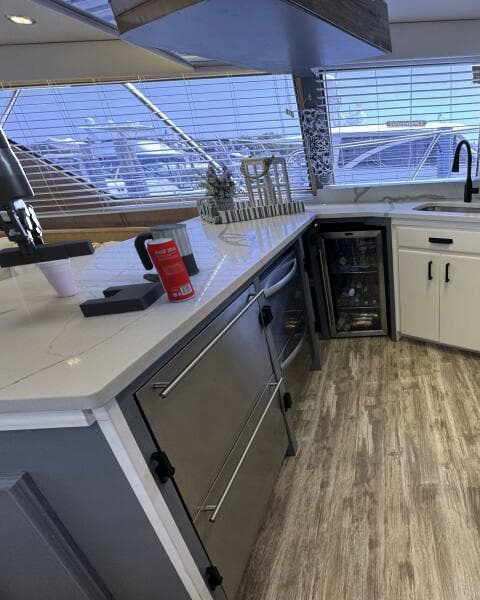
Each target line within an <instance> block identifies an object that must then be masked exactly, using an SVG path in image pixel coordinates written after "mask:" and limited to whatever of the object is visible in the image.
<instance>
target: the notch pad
mask: <svg viewBox="0 0 480 600" xmlns="http://www.w3.org/2000/svg"><path fill="white" fill-rule="evenodd" d="M101 293H102V295H103V297H101V298H91V299H86V300H85V301H83V302H82V303H79V305H78V307H79V309H80V311H81V313H82V315H83V317H84V318H89V317H90V318H91V317H97V316H98V317H99V316H105V315H106V316H107V315H115V314H123V313H132V312H139V311H145V310H147V309H148V308H149V307H150V306H151V305H152V304H154V303H155V302H156V301H157V300H158V299H160V298H161V297H162V295H164V294H166V292H165V290H164V287H163V285H162V283H161V282H151V281H150V282H143V283H134V284H133V283H132V284H124V285H113V286H108V287H107V288H105V289H103V290H102V292H101Z"/></svg>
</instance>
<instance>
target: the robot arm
mask: <svg viewBox="0 0 480 600" xmlns="http://www.w3.org/2000/svg"><path fill="white" fill-rule="evenodd" d="M34 197H35V193H34V190H33V188H32V186H31V184H30V182H29V179H28V177H27V176H26V173H25V171H24V170H23V167H22V165H21V163H20V161H19V159H18V157H17V156H16V155H15V153H14V151H13V149H12V147H11V145H10V144H9V141H8V139H7V136H6V134H5V133H4V130H3V128H2V127H1V126H0V227H1V229H2V230H3V232H4V234H5V236H6V237H7V240H8V241H9V242H10V243H14V244H16V245H17V247H19V249H20V251H21V253H22V255H23V257H24V259H25V260H26V261H34V260H39V259H40V258H41V256H40V254H39V252H38V250H37V248H36V246H35V245H37V244H45V242H44V240H43V234H42V233H43V228H42V227H41V224H40V222H39V220H38V218H37V215H36V213H35V211H34V207H33V205H31V204H26V202H25V201H24V200H23V199H32V198H34ZM18 233H20V234H18Z"/></svg>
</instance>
